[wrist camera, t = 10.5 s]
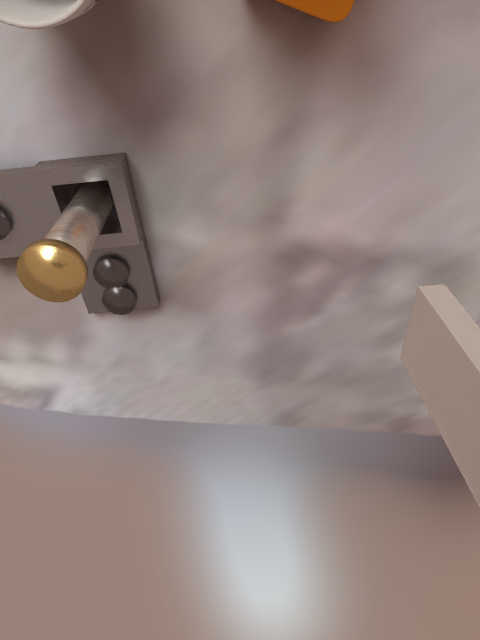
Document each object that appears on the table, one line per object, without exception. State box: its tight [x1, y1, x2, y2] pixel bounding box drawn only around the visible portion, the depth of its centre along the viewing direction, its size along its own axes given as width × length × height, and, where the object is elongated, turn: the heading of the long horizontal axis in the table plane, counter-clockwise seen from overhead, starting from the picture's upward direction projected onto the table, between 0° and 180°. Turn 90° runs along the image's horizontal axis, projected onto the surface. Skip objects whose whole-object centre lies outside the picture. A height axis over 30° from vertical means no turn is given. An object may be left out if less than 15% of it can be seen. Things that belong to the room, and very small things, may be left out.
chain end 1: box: [0, 157, 142, 259], centre depth 35 cm, size 15×7×2 cm, turn 95°
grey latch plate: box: [36, 153, 160, 315], centre depth 38 cm, size 15×7×2 cm, turn 5°
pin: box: [17, 181, 114, 302], centre depth 31 cm, size 4×4×13 cm
